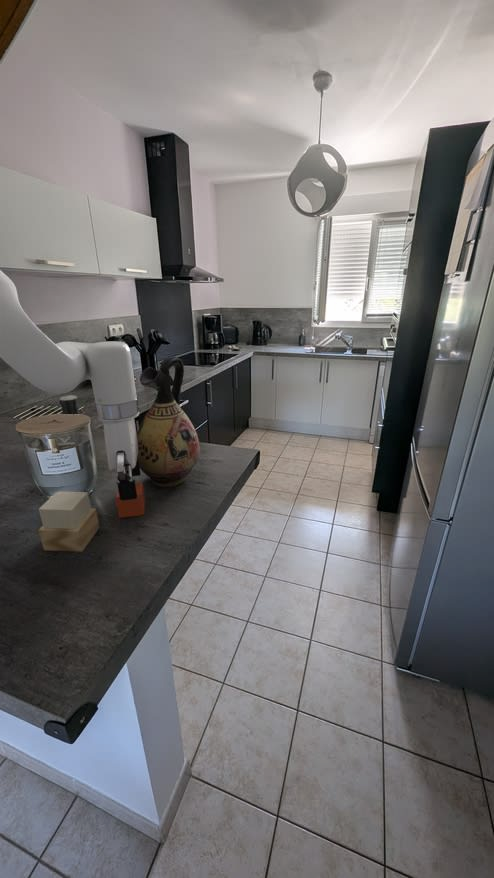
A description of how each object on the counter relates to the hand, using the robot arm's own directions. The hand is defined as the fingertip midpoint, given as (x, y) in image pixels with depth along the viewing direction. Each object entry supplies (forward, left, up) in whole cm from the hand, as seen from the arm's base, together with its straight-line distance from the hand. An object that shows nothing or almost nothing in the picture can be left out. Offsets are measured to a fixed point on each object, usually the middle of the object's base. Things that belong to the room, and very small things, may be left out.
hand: (131, 486), depth 74 cm
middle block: (-8, -10, -1) cm, 13 cm away
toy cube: (0, 0, -6) cm, 6 cm away
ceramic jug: (+5, +15, -6) cm, 17 cm away
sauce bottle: (-20, +18, -6) cm, 28 cm away
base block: (-8, -10, -6) cm, 14 cm away
